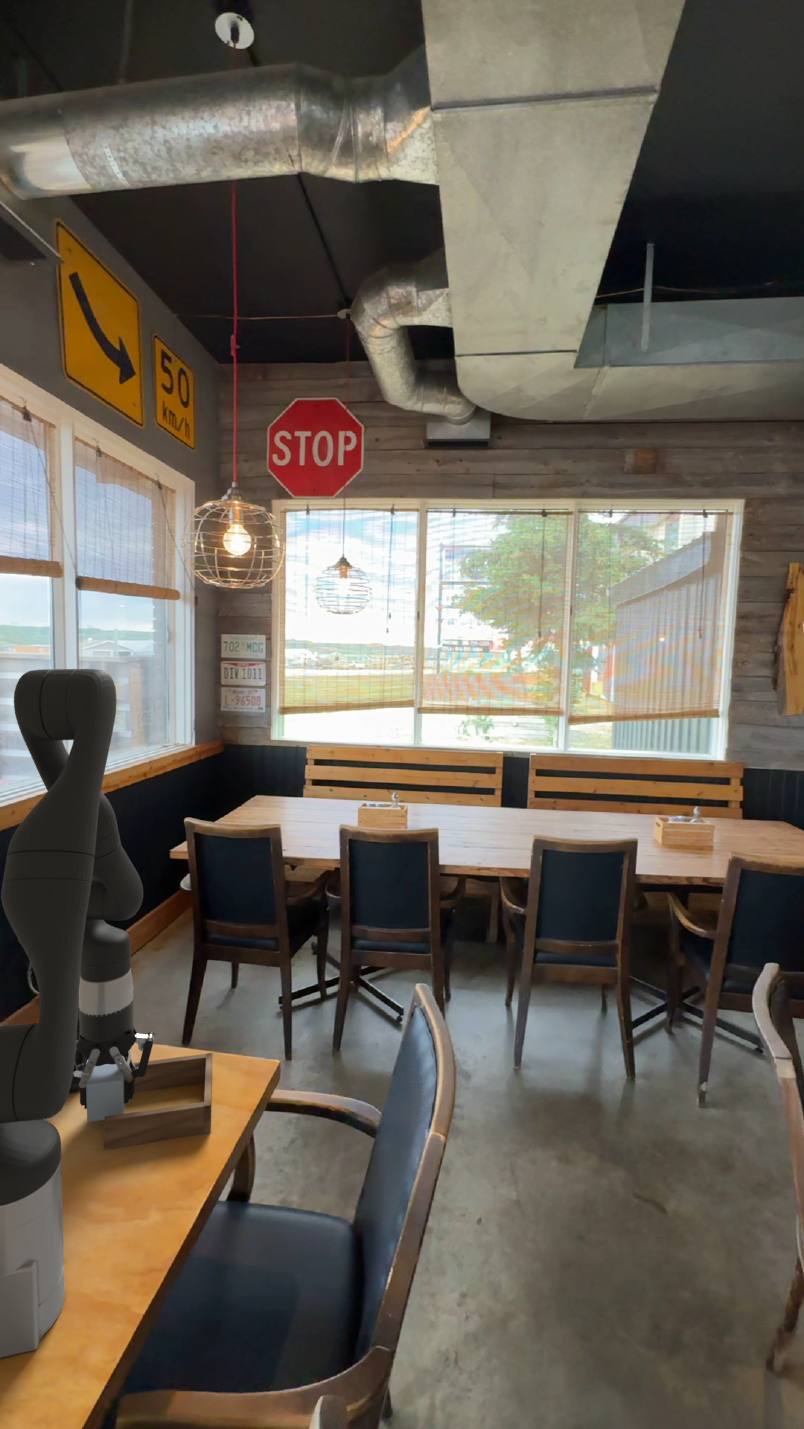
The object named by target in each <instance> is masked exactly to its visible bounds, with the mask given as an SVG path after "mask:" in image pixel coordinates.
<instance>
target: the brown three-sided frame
mask: <svg viewBox="0 0 804 1429" xmlns="http://www.w3.org/2000/svg"><path fill="white" fill-rule="evenodd" d="M133 1063H134V1065H136V1064H139V1063H140V1061H139V1062H133ZM202 1083H204V1094H203V1097H204V1098H203V1101H201V1102H194V1103H188V1104H180V1105H174V1106H173V1105H172V1106H168V1107H167V1106H166V1107H160V1108H153V1109H152V1108H151V1109H146V1110H140V1111H139V1110H138V1111H134V1112H133V1111H132V1112H124V1114H118V1115H111V1116H105V1118H104V1120H103V1150H109V1149H111V1150H112V1149H117V1148H122V1147H129V1146H134V1145H142V1144H146V1143H147V1144H148V1143H155V1142H160V1141H169V1140H172V1139H174V1140H175V1139H179V1138H185V1137H193V1136H197V1135H205V1134H210V1133H212V1108H213V1107H212V1104H213V1102H212V1100H213V1096H212V1095H213V1052H209V1053H202V1054H193V1055H186V1056H178V1057H170V1058H169V1057H168V1058H162V1059H155V1060H149V1061H148V1065H147V1069H146V1073H145V1075H144V1076H143V1077H139V1076H138V1077H136V1078H135V1092H134V1093H136V1092H137V1093H139V1092H145V1091H152V1090H157V1089H158V1090H159V1089H160V1090H161V1089H166V1088H174V1087H181V1086H189V1085H195V1084H202Z"/></svg>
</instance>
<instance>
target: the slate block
mask: <svg viewBox="0 0 804 1429" xmlns="http://www.w3.org/2000/svg"><path fill="white" fill-rule="evenodd" d="M124 1081H125V1079H124V1075H122V1072H120V1071H119V1069H118V1067H117V1065H116V1064H113V1065H111V1064H105V1065H102V1066H96V1067H94V1069H93V1072H92V1074H91V1077H90V1079H88V1082H87V1084H86V1092H87V1109H86V1123H87V1122H88V1123H89V1122H96V1121H104V1118H105V1116H111V1115H118V1114H124V1113H125V1110H126V1105H127V1104H124Z"/></svg>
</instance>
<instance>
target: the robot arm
mask: <svg viewBox="0 0 804 1429" xmlns="http://www.w3.org/2000/svg"><path fill="white" fill-rule="evenodd" d="M13 708H14V714H15V718H16V722H17V725H18V726H17V727H18V729H19V731H20V734H21V736H22V739H23V741H24V743H25V745H26V747H27V750H28V752H29V754H30V757H31V758H32V761H33V763H34V765H35V768H36V769H37V772H38V774H39V776H40V778H41V780H42V783H43V784H44V787H45V789H46V790H47V792H45V794H44V795H43V797H41V799H40V800H39V801H38V802H37V803H36V804H35V805H34V807H33V808H32V809H31V810H30V811H29V812H28V814H27V815H26V816H25V817H24V819H23V820H22V821H21V823H20V824H19V825H18V827H17V828H16V830H15V832H14V833H13V835H12V837H11V840H10V841H9V842H10V843H9V844H8V845H9V846H8V849H7V856H6V861H5V867H4V873H3V880H2V884H1V885H2V886H1V890H0V891H1V892H0V901H1V905H2V908H3V911H4V914H5V916H6V918H7V920H8V923H9V924H10V927H11V928H12V930H13V932H14V934H15V935H16V937H17V939H18V942H19V943H20V945H21V947H22V948H23V950H24V952H25V954H26V956H27V958H28V960H29V962H30V965H31V967H32V970H33V972H34V976H35V978H36V984H37V988H38V998H39V1015H38V1016H39V1019H38V1022H35V1023H34V1022H32V1023H16V1024H4V1025H3V1024H1V1025H0V1359H1V1358H4V1357H6V1358H7V1357H9V1356H10V1357H11V1356H14V1355H18V1354H22V1353H27V1352H32V1351H35V1350H37V1349H38V1348H39V1346H40V1342H41V1340H42V1338H43V1337H44V1335H45V1334H46V1333H47V1332H48V1331H49V1329H50V1328H51V1327H53V1325H54V1324H55V1321H56V1320H57V1319H58V1318H59V1316H60V1314H61V1311H62V1310H63V1306H64V1304H65V1297H66V1296H65V1290H66V1289H65V1288H66V1287H65V1261H64V1260H65V1259H64V1258H65V1257H64V1219H63V1218H64V1216H63V1215H64V1214H63V1212H64V1210H63V1175H62V1174H63V1173H62V1172H63V1170H62V1168H63V1167H62V1142H61V1140H62V1139H61V1135H60V1133H59V1130H58V1129H57V1128H56V1126H55V1125H54V1124H52V1122H50V1121H48V1120H46V1119H50V1118H53V1117H55V1116H56V1115H57V1114H58V1113H59V1112H61V1110H62V1109H63V1107H64V1106H65V1104H66V1102H67V1099H68V1097H69V1095H70V1093H69V1091H70V1087H71V1085H73V1084H76V1085H78V1086H79V1088H80V1090H79V1104H80V1105H81V1106H84V1108H83V1109H84V1110H87V1092H86V1084H87V1082H88V1079H90V1077H91V1074H92V1072H93V1069H94V1067H96V1066H102V1065H105V1064H111V1065H113V1064H116V1065H117V1067H118V1069H119V1071H120V1072H122V1075H124V1079H125V1081H124V1104H126V1105H127V1104H130V1100H133V1098H134V1095H135V1093H136V1092H135V1078H136V1077H138V1076H139V1077H143V1076H144V1075H145V1073H146V1069H147V1065H148V1061H150V1057H151V1053H152V1049H153V1045H154V1041H155V1035H156V1034H155V1032H153V1031H148V1032H147V1033H146V1034H143V1033H138V1031H137V1030H136V1028H135V1026H134V993H135V988H134V980H133V974H132V954H131V953H132V952H131V951H132V950H131V946H132V945H131V937H130V935H129V933H128V932H127V931H125V930H124V929H121V928H118V927H114V926H113V925H111V924H108V923H107V922H106V921H115V922H116V921H126V920H127V921H128V920H129V919H131V918H132V917H134V916H135V915H136V914H137V913H138V911H139V910H140V908H141V907H142V904H143V900H144V899H143V898H144V887H143V883H142V880H141V877H140V875H139V873H138V871H137V870H136V868H135V866H134V864H133V863H132V861H131V859H130V858H129V856H128V854H127V852H126V851H125V849H124V847H123V846H122V842H121V838H120V837H121V836H120V833H119V832H120V831H119V828H118V822H117V817H116V814H115V811H114V808H113V806H112V804H111V803H110V801H109V799H108V798H107V797H106V795H105V794H104V793H103V791H102V789H103V787H102V786H103V782H104V781H103V780H104V777H105V773H106V772H105V771H106V766H107V762H108V757H109V752H110V747H111V742H112V736H113V731H114V726H115V721H116V713H117V689H116V685H115V681H114V679H113V678H112V676H111V675H110V673H108V672H107V671H105V670H102V669H95V668H59V669H57V668H56V669H55V668H54V669H53V668H50V669H49V668H47V669H45V668H43V669H33V670H32V669H31V670H29V671H26V672H25V673H23V674H22V675H21V676H20V678H19V679H18V681H17V683H16V685H15V688H14V692H13ZM63 741H72V745H71V748H70V751H69V752H68V751H67V749H66V746H65V744H64V742H63ZM78 1007H79V1024H80V1036H79V1038H78V1040H77V1041H76V1039H77V1019H78ZM135 1044H137V1045H138V1048H137V1049H138V1050H140V1051H141V1054H140V1059H139V1062H140V1063H139V1064H136V1065H134V1063H135V1062H134V1061H133V1059H132V1054H131V1052H130V1050H131V1049H132V1047H133V1046H134V1045H135ZM76 1050H78V1051H79V1052H80V1053H81V1054H82V1055H83V1056H84V1057H85V1058H86V1059H87V1060H88V1061H87V1063H86V1066H85V1069H84V1071H83V1072H81V1071H78V1069H77V1065H76V1062H75V1053H76Z"/></svg>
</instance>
